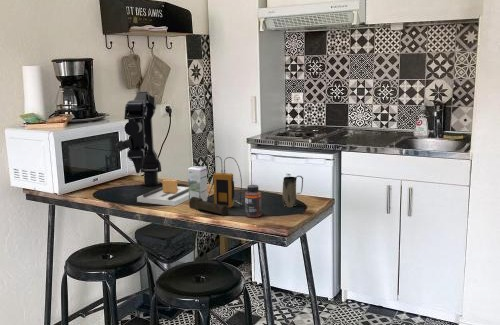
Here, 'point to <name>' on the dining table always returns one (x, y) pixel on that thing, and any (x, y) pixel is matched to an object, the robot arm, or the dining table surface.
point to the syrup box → (197, 182)
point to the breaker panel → (165, 197)
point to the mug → (290, 191)
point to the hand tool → (208, 206)
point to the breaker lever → (170, 186)
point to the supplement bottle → (253, 201)
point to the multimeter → (224, 187)
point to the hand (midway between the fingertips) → (139, 170)
